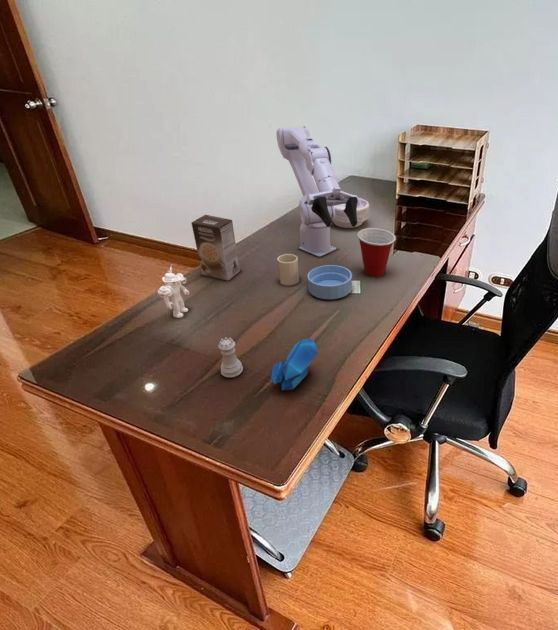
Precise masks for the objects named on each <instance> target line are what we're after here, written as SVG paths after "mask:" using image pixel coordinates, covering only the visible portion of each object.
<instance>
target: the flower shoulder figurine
mask: <svg viewBox="0 0 558 630" xmlns="http://www.w3.org/2000/svg"><path fill="white" fill-rule="evenodd" d="M161 280H162V282H163V283H164V285H161V286H160V287H159V289H158V290H157V294H158V296H159V297H160V298H161V299H163V301H164V303H165V307H166V308H167V310H170V311H171V310H173V311H172V316H173V317H174V318H176V319H180V318H183V317H184V315H185V314H184V313H188V311H189V309H188V308H187V307H185V302H184V298H183V297H182V295H181V291H182V292H183V294H184V295H187V296H189V295H190V290H188V289H187V288H186V287H185V284H187V277H184V275H183V273H180V272H178V273H176V274H175V273H173V267H172V264H170V268H169V269H167V272H166V273H165V274H164V276H163V277H161ZM183 284H184V285H183Z"/></svg>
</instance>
